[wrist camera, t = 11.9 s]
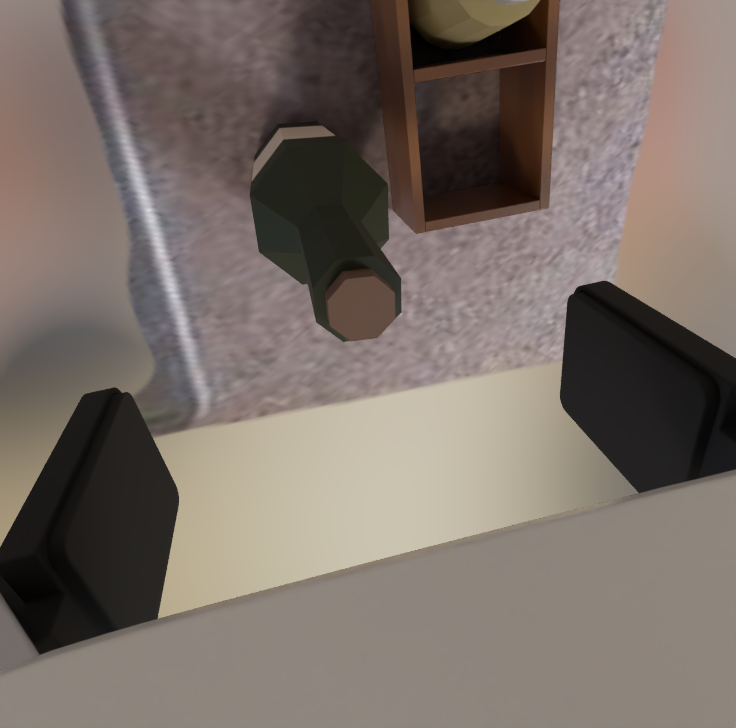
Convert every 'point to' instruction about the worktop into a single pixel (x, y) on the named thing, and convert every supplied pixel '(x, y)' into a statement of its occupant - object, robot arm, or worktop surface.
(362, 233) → the wine bottle
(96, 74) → the worktop surface
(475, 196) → the bottle rack
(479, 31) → the squeeze bottle
